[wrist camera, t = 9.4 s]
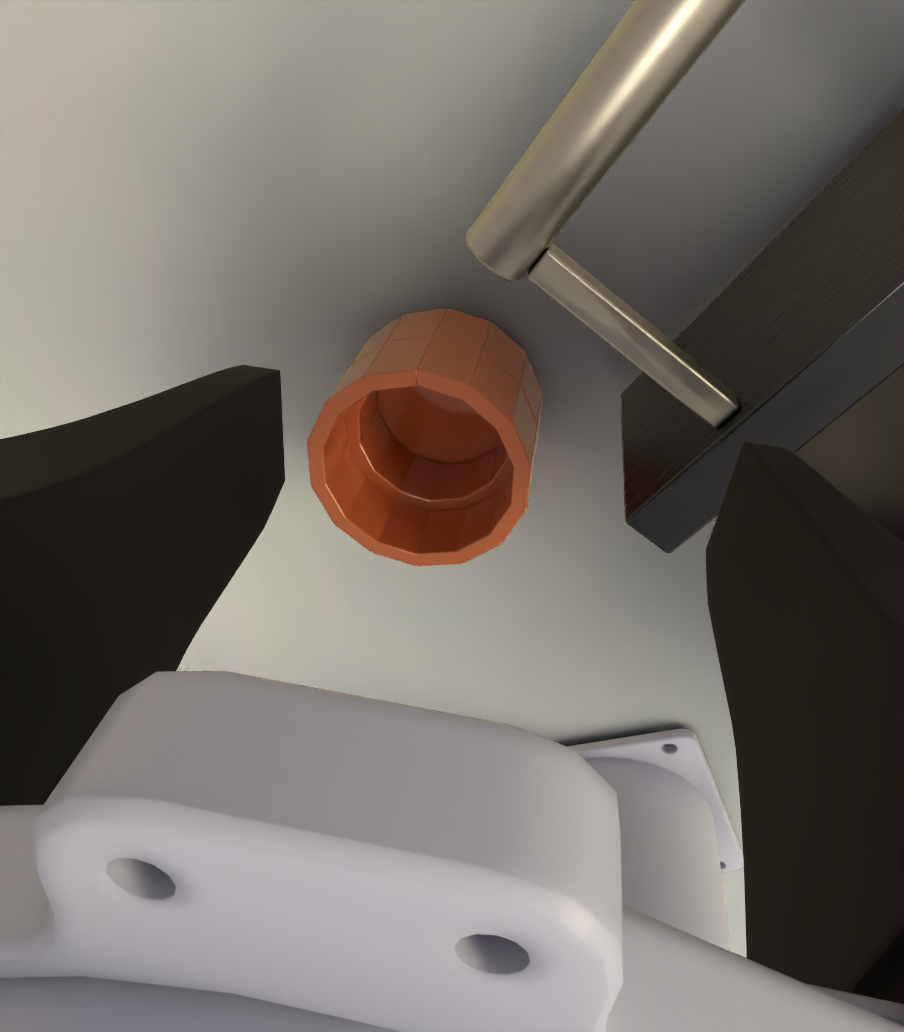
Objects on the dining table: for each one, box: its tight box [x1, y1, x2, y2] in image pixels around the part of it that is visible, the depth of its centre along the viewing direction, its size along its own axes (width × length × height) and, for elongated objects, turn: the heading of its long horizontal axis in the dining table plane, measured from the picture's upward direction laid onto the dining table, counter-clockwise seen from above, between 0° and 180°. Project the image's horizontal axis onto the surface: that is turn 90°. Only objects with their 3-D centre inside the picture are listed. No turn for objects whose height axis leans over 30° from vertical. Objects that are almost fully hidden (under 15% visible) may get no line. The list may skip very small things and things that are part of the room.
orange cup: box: [307, 308, 543, 566], centre depth 20 cm, size 5×5×4 cm
